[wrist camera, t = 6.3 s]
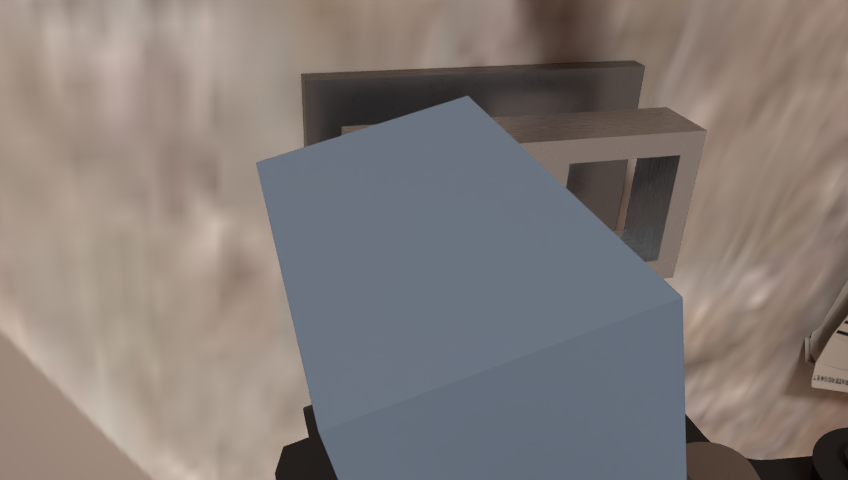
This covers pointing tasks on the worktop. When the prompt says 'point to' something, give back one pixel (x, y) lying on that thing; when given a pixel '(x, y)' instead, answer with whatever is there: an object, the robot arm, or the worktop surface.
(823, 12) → the worktop surface
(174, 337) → the worktop surface
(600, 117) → the gray desk organizer
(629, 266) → the blue rectangular block
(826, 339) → the newspaper
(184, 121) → the worktop surface
